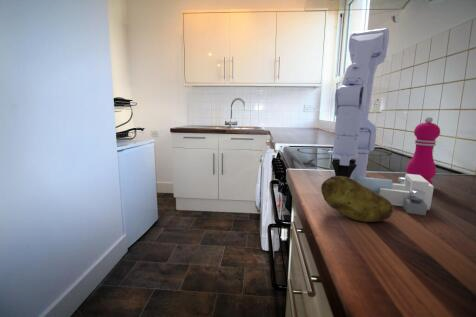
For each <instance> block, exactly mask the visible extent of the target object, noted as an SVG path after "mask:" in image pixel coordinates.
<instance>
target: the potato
mask: <svg viewBox="0 0 476 317" xmlns="http://www.w3.org/2000/svg"><path fill="white" fill-rule="evenodd" d="M320 190H321V194H322V197H323V200H324V202H326V203H327V205H328V207H330V208H332V209H334V210H336V211H338V212H339V213H341V214H343V215H344V216H345V217H347V218H349V219H351V220H355V221H358V222H365V223H369V222H371V223H375V222H376V223H377V222H381V221H385V220H388V219H389V218H390V217H391V215H392V213H393V205H392V204H391V203H390V202H389V201H388V200H387V199H386V198H384V197H383V196H381V195H379V194H377V193H375V192H373V191H371V190H369V189H368V188H366V187H364V186H362V185H361V184H359V183H358V182H356V181H355V180H353V179H351V178H348V177H343V176H335V175H333V176H330V177H329V178H327V179H326V180H324V181H323V182H322V183H321V188H320Z"/></svg>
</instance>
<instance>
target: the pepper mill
mask: <svg viewBox="0 0 476 317" xmlns="http://www.w3.org/2000/svg"><path fill="white" fill-rule="evenodd" d="M413 134H414V137H416V139H414V145H415V149H414V153H413V156H412V157H411V158H410V160H409V161H408V162H407V165H406V169H405V173H406V174H414V175H420V176H422V177H423V178H424V179H425V180H427V181H428V182H429V183H430V184H431V185H433V180H431V179H433V178H434V177H435V176H436V174H437V167H436V163H435V161H434V156H433V154H434V153H433V152H434V151H433V150H434V146H437V140H436V139H437V138H438V137H439V136H440V134H441V129H440V126H439V125H437V124H436V123H433V118H432V117H430V116H428V117H426V118H425V119H424V122H422V123H419V124H417V125H416V127H415V128H414V130H413Z"/></svg>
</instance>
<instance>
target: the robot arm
mask: <svg viewBox="0 0 476 317" xmlns="http://www.w3.org/2000/svg"><path fill="white" fill-rule="evenodd" d="M389 40H390V29H389V28H388V27H384V28H378V29H371V30H363V31H353V32H352V33H351V34H350V36H349V40H348V52H349V57H350V61H351V64H350V65H348V67H347V68H346V71H345V74H344V77H343V79H342V82H341V85H340V86H339V87H337V88H336V90H335V92H334V93H335V94H334V116H335V123H334V136H333V146H332V147H333V148H332V150H327V155H331V156H333V157H334V158H332V161H331V166H332V168H333V171H334V176H343V177H348V178H351V179H353V180H354V179H355V176H361V177H367V169H368V160H369V153H372V152H373V151H374V150H375V146H376V139H377V127H376V125H375V124H374V123H373V122H372V121H371V120H370V119H369V114H370V107H371V99H372V93H373V86H374V80H375V74H376V72H377V68H378V66H379V65H381V64H382V63H384V62H385V59H386V58H387V51H388V47H389Z"/></svg>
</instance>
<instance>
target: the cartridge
mask: <svg viewBox="0 0 476 317" xmlns="http://www.w3.org/2000/svg"><path fill="white" fill-rule="evenodd" d="M354 180H355V181H356V182H358V183H359V184H361V185H362V186H364V187H366V188H368V189H369V190H371V191H373V192H375V193H377V194H379V192H380V188H386V189H392V183H393V179H387V178H378V177H377V178H376V177H369V176H368V177H367V176H366V177H361V176H355V179H354Z"/></svg>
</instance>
